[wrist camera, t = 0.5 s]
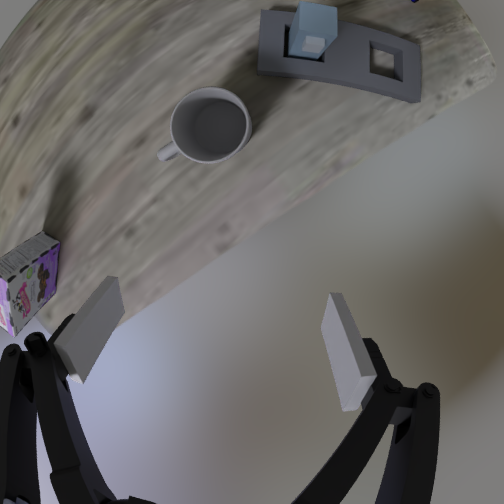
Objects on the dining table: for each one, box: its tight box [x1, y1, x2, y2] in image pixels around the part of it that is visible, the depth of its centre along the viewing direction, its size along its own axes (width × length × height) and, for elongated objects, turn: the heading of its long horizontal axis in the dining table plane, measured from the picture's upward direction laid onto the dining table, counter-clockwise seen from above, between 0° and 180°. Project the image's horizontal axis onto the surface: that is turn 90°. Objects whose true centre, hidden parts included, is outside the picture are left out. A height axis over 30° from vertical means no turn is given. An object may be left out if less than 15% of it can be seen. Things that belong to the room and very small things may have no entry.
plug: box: [287, 1, 337, 61], centre depth 25 cm, size 5×4×12 cm
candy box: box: [0, 231, 60, 338], centre depth 37 cm, size 14×6×16 cm, turn 152°
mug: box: [157, 87, 252, 163], centre depth 31 cm, size 12×8×11 cm
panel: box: [257, 10, 421, 103], centre depth 29 cm, size 10×24×3 cm, turn 87°
